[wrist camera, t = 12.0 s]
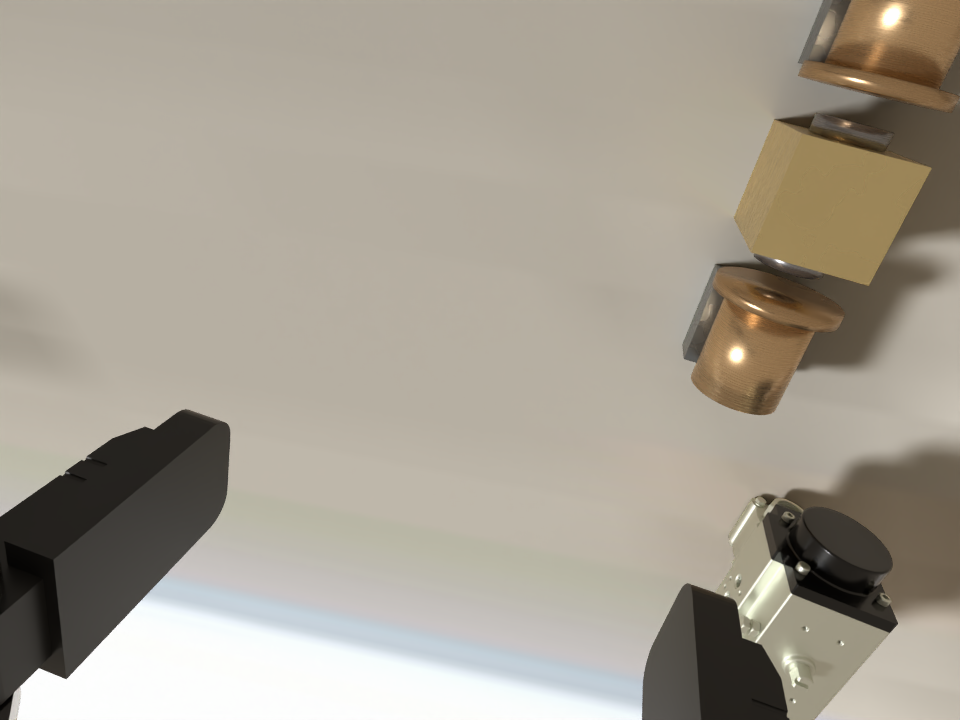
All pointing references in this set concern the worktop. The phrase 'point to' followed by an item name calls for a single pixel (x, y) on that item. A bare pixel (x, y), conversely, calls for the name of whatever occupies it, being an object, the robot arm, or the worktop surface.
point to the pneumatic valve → (809, 596)
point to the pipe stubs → (776, 300)
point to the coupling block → (827, 199)
